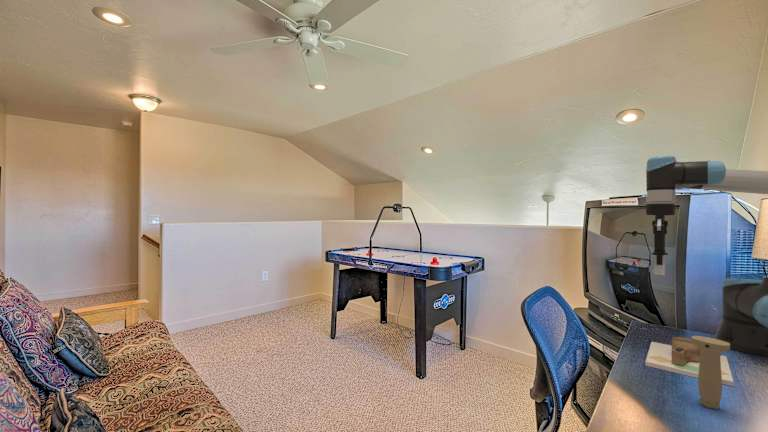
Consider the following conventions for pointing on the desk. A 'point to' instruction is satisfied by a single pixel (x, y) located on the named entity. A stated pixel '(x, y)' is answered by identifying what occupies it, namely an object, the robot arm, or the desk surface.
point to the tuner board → (662, 359)
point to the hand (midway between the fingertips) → (659, 274)
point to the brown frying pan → (684, 351)
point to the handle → (710, 369)
